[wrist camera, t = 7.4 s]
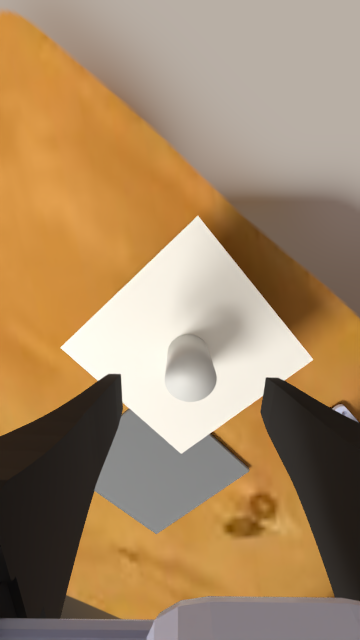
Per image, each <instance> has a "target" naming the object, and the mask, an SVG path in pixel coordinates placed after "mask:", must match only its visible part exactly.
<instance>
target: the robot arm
mask: <svg viewBox="0 0 360 640" xmlns="http://www.w3.org/2000/svg"><path fill="white" fill-rule="evenodd" d="M122 410H123V404H122V385H121V374H107V375H106V376H104V377H103V378H102V379H100V380H99V381H97V382H96V383H95V384H93V385H92V386H91V387H89V388H88V389H86V390H85V391H84V392H82V393H81V394H79V395H78V396H76V397H75V398H73V399H72V400H70V401H69V402H67V403H65V404H64V405H62V406H61V407H59V408H57V409H56V410H54V411H52V412H50V413H49V414H47V415H45V416H43V417H41V418H39V419H37V420H35V421H33V422H31V423H29V424H27V425H25V426H22V427H20V428H18V429H16V430H14V431H12V432H9V433H7V434H5V435H2V436H0V640H360V423H359V422H358V421H357V420H356V418H355V417H354V416H353V415H352V414H351V413H350V411H349V410H348V409H347V408H346V407H345V406H344V405H343V404H338V405H336V406H335V407H333V408H332V409H331V408H330V407H328V406H326V405H324V404H322V403H321V402H319V401H317V400H316V399H314V398H312V397H311V396H309V395H307V394H306V393H304V392H302V391H301V390H299V389H297V388H296V387H294V386H292V385H291V384H289V383H287V382H286V381H284V380H282V379H280V378H270V377H266V380H265V387H264V393H263V400H262V406H261V415H262V418H263V421H264V424H265V427H266V429H267V432H268V434H269V436H270V438H271V440H272V442H273V444H274V446H275V448H276V450H277V452H278V454H279V456H280V458H281V460H282V462H283V464H284V466H285V468H286V470H287V472H288V474H289V476H290V478H291V480H292V482H293V484H294V487H295V489H296V491H297V494H298V496H299V499H300V501H301V504H302V506H303V509H304V511H305V514H306V516H307V519H308V522H309V524H310V527H311V530H312V532H313V535H314V538H315V541H316V543H317V546H318V549H319V552H320V555H321V557H322V560H323V563H324V566H325V569H326V572H327V575H328V578H329V581H330V583H331V586H332V590H333V593H334V596H335V598H307V597H219V596H208V597H201V598H195V599H188V600H181V601H179V602H178V603H176V604H174V605H172V606H171V607H169V608H167V609H165V610H164V611H162V612H160V614H159V615H158V616H157V618H156V619H155V620H126V619H60V616H61V613H62V608H63V604H64V600H65V596H66V592H67V588H68V584H69V580H70V576H71V573H72V569H73V565H74V561H75V557H76V554H77V550H78V546H79V542H80V539H81V535H82V531H83V528H84V524H85V521H86V517H87V514H88V510H89V507H90V503H91V500H92V497H93V493H94V490H95V486H96V484H97V481H98V478H99V475H100V472H101V470H102V467H103V465H104V462H105V460H106V457H107V455H108V452H109V450H110V447H111V445H112V442H113V440H114V437H115V435H116V432H117V429H118V426H119V422H120V418H121V414H122ZM342 412H343V413H342Z"/></svg>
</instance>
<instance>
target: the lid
mask: <svg viewBox="0 0 360 640" xmlns="http://www.w3.org/2000/svg"><path fill="white" fill-rule="evenodd" d="M61 349H62V350H64V351H65V352H66V353H67V354H68V355H69V356H70V357H72V358H73V359H74V360H75V361H76V362H77V363H78V364H79V365H81V366H82V367H83V368H84V369H85V370H86V371H87V372H89V373H90V374H91V375H92V376H93V377H94V378H95V379H97V380H98V381H99V380H100V379H102V378H103V377H104V376H106V375H107V374H121V385H122V402H123V403H124V404H125V405H126V406H127V407H128V408H130V409H131V410H132V411H133V412H134V413H135V414H136V415H137V416H139V417H140V418H141V419H142V420H143V421H144V422H145V423H147V424H148V425H149V426H150V427H151V428H152V429H153V430H155V431H156V432H157V433H158V434H159V435H160V436H161V437H163V438H164V439H165V440H166V441H167V442H168V443H169V444H170V445H172V446H173V447H174V448H175V449H176V450H177V451H178V452H180V453H181V454H182V453H183V452H185V451H186V450H188V449H189V448H190V447H192V446H193V445H195V444H196V443H197V442H199V441H200V440H202V439H203V438H204V437H206V436H207V435H209V434H210V433H211V432H213V431H214V430H216V429H217V428H218V427H220V426H221V425H223V424H224V423H225V422H227V421H228V420H230V419H231V418H232V417H234V416H235V415H237V414H238V413H239V412H241V411H242V410H244V409H245V408H246V407H248V406H249V405H251V404H252V403H253V402H255V401H256V400H258V399H259V398H260V397H262V396H263V393H264V387H265V380H266V377H270V378H280V379H282V380H286V379H287V378H288V377H290V376H291V375H293V374H294V373H295V372H297V371H298V370H300V369H301V368H302V367H304V366H305V365H307V364H308V363H309V362H311V361H312V360H313V359H312V357H311V356H310V355H309V354H308V352H307V351H306V350H305V349H304V347H303V346H302V345H301V344H300V342H299V341H298V340H297V339H296V337H295V336H294V335H293V334H292V332H291V331H290V330H289V329H288V327H287V326H286V325H285V324H284V322H283V321H282V320H281V319H280V317H279V316H278V315H277V314H276V312H275V311H274V310H273V309H272V307H271V306H270V305H269V304H268V302H267V301H266V300H265V299H264V297H263V296H262V295H261V294H260V292H259V291H258V290H257V289H256V288H255V286H254V285H253V284H252V283H251V281H250V280H249V279H248V278H247V276H246V275H245V274H244V273H243V271H242V270H241V269H240V268H239V266H238V265H237V264H236V263H235V261H234V260H233V259H232V258H231V256H230V255H229V254H228V253H227V251H226V250H225V249H224V248H223V246H222V245H221V244H220V243H219V241H218V240H217V239H216V238H215V236H214V235H213V234H212V233H211V231H210V230H209V229H208V228H207V226H206V225H205V224H204V223H203V221H202V220H201V219H200V218H199V216H197V217H196V218H195V219H194V220H193V221H192V222H191V223H190V224H189V225H188V226H187V227H186V228H185V229H184V230H183V231H181V232H180V233H179V234H178V235H177V236H176V237H175V238H174V239H173V240H172V241H171V242H170V243H169V244H168V245H167V246H166V247H165V248H164V249H163V250H162V251H161V252H160V253H159V254H157V255H156V256H155V257H154V258H153V259H152V260H151V261H150V262H149V263H148V264H147V265H146V266H145V267H144V268H143V269H142V270H141V271H140V272H139V273H138V274H137V275H136V276H135V277H133V278H132V279H131V280H130V281H129V282H128V283H127V284H126V285H125V286H124V287H123V288H122V289H121V290H120V291H119V292H118V293H117V294H116V295H115V296H114V297H113V298H112V299H111V300H110V301H108V302H107V303H106V304H105V305H104V306H103V307H102V308H101V309H100V310H99V311H98V312H97V313H96V314H95V315H94V316H93V317H92V318H91V319H90V320H89V321H88V322H87V323H86V324H84V325H83V326H82V327H81V328H80V329H79V330H78V331H77V332H76V333H75V334H74V335H73V336H72V337H71V338H70V339H69V340H68V341H67V342H66V343H65V344H64V345H63V346H62V347H61Z"/></svg>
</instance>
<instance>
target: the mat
mask: <svg viewBox="0 0 360 640" xmlns="http://www.w3.org/2000/svg"><path fill="white" fill-rule="evenodd" d="M247 472H249V468H248V467H247V466H246V465H245V464H244V463H243V462H242V461H240V460H239V459H238V458H237V457H236V456H235V455H234V454H233V453H232V452H230V451H229V450H228V449H227V448H226V447H225V446H224V445H223V444H221V443H220V442H219V441H218V440H217V439H216V438H215V437H214V436H213V435H211V434H209V435H207V436H206V437H204V438H203V439H202V440H200V441H199V442H197V443H196V444H195V445H193V446H192V447H190V448H189V449H188V450H186V451H185V452H183V453H182V454H181V453H180V452H178V451H177V450H176V449H175V448H174V447H173V446H172V445H170V444H169V443H168V442H167V441H166V440H165V439H164V438H163V437H161V436H160V435H159V434H158V433H157V432H156V431H155V430H153V429H152V428H151V427H150V426H149V425H148V424H147V423H145V422H144V421H143V420H142V419H141V418H140V417H139V416H137V415H136V414H135V413H134V412H133V411H132V410H131V409H130V408H129V409H128V410H127V411H125V412H124V413H123V414H122V415H121V418H120V422H119V426H118V429H117V432H116V435H115V437H114V440H113V442H112V445H111V447H110V450H109V452H108V455H107V457H106V460H105V462H104V465H103V467H102V470H101V472H100V475H99V478H98V481H97V484H96V486H95V490H94V491H96V492H97V493H98V494H100V495H101V496H103V497H104V498H106V499H107V500H108V501H110V502H111V503H113V504H114V505H116V506H117V507H118V508H120V509H121V510H123V511H124V512H125V513H127V514H128V515H130V516H131V517H133V518H134V519H135V520H137V521H138V522H140V523H141V524H143V525H144V526H145V527H147V528H148V529H150V530H151V531H153V532H154V533H155V534H157V533H159V532H160V531H162V530H163V529H165V528H166V527H168V526H169V525H171V524H172V523H174V522H175V521H177V520H178V519H180V518H181V517H182V516H184V515H185V514H187V513H188V512H190V511H191V510H193V509H194V508H196V507H197V506H199V505H200V504H202V503H203V502H205V501H206V500H208V499H209V498H210V497H212V496H213V495H215V494H216V493H218V492H219V491H221V490H222V489H224V488H225V487H227V486H228V485H230V484H231V483H233V482H234V481H235V480H237V479H238V478H240V477H241V476H243V475H244V474H246V473H247Z"/></svg>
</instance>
